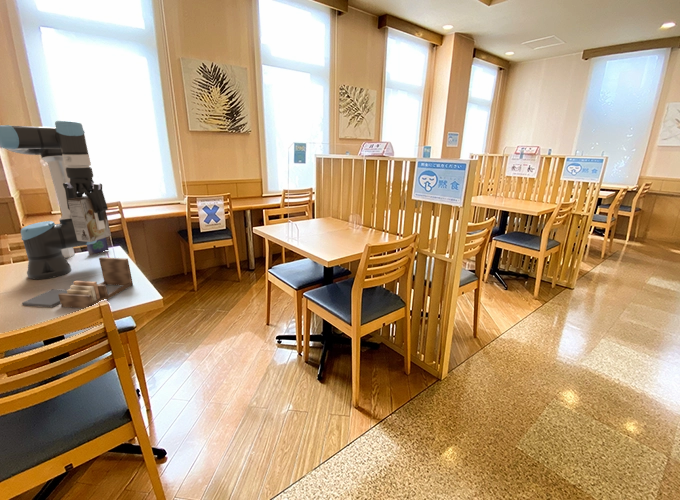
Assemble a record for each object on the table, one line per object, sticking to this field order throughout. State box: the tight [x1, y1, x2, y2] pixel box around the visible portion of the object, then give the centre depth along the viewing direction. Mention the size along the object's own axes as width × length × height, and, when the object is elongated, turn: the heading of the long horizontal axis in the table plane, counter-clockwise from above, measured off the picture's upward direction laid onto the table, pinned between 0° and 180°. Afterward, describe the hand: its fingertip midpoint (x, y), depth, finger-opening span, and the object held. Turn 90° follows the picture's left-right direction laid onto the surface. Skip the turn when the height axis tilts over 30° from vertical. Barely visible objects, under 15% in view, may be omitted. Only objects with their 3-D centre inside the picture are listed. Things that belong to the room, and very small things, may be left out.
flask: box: [86, 237, 110, 256], centre depth 176 cm, size 9×3×11 cm, turn 141°
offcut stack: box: [66, 280, 100, 302], centre depth 121 cm, size 8×4×8 cm, turn 84°
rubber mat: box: [21, 288, 68, 308], centre depth 125 cm, size 12×12×1 cm
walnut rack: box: [58, 256, 134, 309], centre depth 127 cm, size 12×21×12 cm, turn 174°
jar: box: [61, 247, 75, 259], centre depth 170 cm, size 9×8×12 cm
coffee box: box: [67, 195, 112, 242], centre depth 123 cm, size 9×6×16 cm
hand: (92, 228), depth 124 cm, fingers closed on coffee box, 7 cm apart
